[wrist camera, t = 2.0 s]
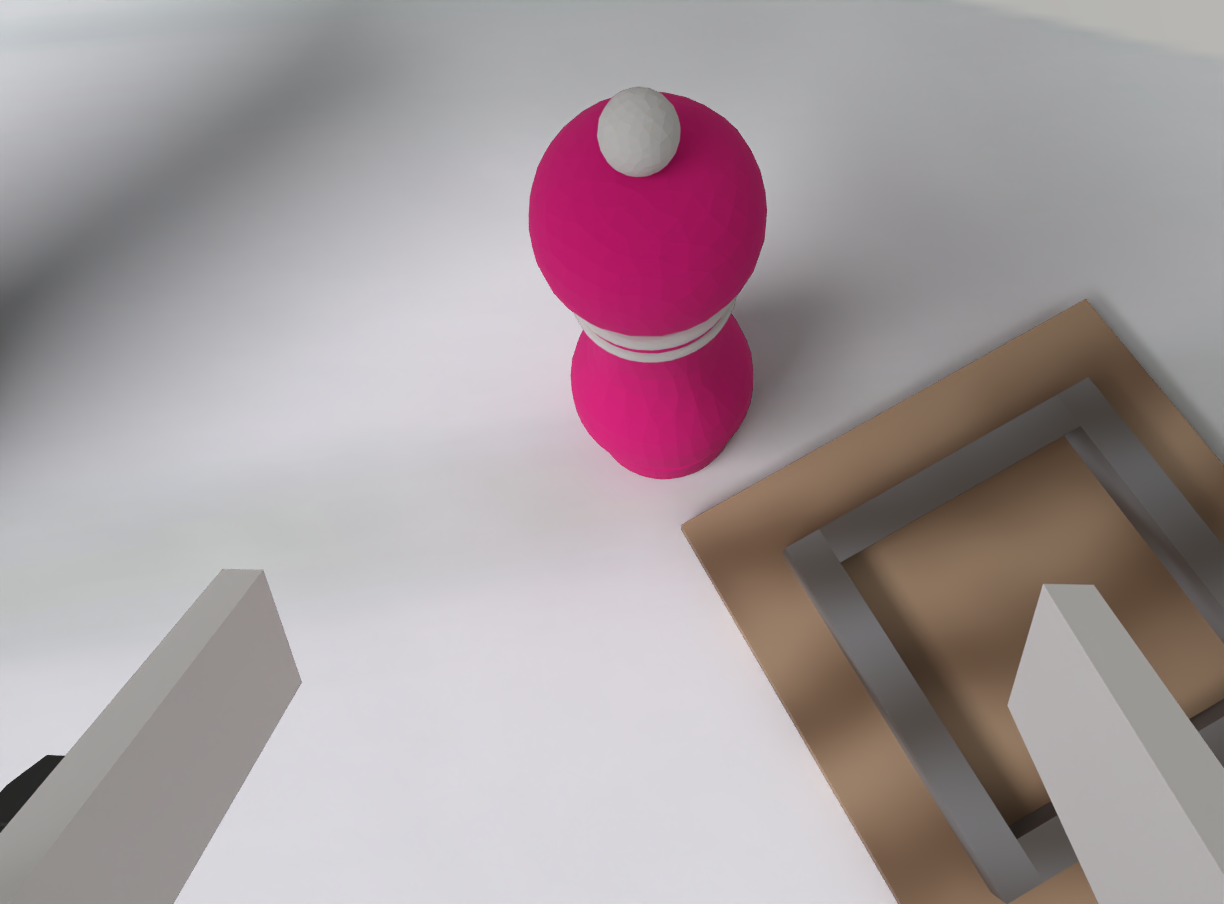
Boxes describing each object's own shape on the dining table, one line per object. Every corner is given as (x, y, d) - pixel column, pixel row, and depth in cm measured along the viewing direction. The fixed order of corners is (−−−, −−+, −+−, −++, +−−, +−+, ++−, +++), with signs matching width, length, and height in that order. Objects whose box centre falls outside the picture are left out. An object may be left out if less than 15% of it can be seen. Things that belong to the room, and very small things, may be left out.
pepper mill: (733, 503, 33) (795, 286, 14) (572, 477, 34) (424, 243, 15) (755, 349, 35) (837, -29, 16) (601, 330, 36) (502, -49, 17)
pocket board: (681, 529, 33) (681, 519, 31) (1072, 311, 34) (1102, 283, 32) (958, 1007, 28) (985, 1042, 25) (1416, 731, 29) (1485, 738, 26)
